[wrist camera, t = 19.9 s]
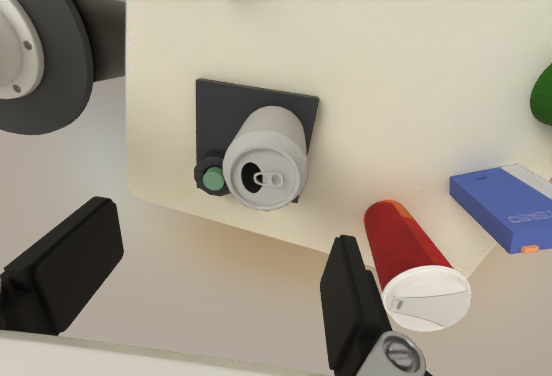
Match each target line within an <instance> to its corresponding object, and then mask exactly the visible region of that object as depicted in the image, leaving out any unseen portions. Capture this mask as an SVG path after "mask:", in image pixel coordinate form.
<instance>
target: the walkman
mask: <svg viewBox="0 0 552 376" xmlns="http://www.w3.org/2000/svg"><path fill="white" fill-rule="evenodd" d="M450 195H451V196H452V197H453V198H454V199H455V200H456V201H457V202H458V203H459V204H460V205H461V206H462V207H463V208H464V209H465V210H466V211H467V212H468V213H469V214H470V215H471V216H472V217H473V218H474V219H475V220H476V221H477V222H478V223H479V224H480V225H481V226H482V227H483V228H484V229H485V230H486V231H487V232H488V233H489V234H490V235H491V236H492V237H493V238H494V239H495V240H496V241H497V242H498V243H499V244H500V245H501V246H502V247H503V248H504V249H505V250H506V251H507V252H508V253H509V254H514V253H521V252H522V253H524V254H527V253H534V252H538V250H543V249H551V248H552V183H550V182H549V181H547V180H545V179H543V178H541V177H540V176H538V175H536V174H534V173H532V172H531V171H529V170H527V169H525V168H523V167H522V166H520V165H518V164H515V165H509V166H504V167H499V168H494V169H489V170H484V171H478V172H473V173H468V174H463V175H457V176H452V177H450Z"/></svg>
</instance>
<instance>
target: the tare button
mask: <svg viewBox="0 0 552 376" xmlns="http://www.w3.org/2000/svg"><path fill="white" fill-rule="evenodd" d="M203 183H204V185H205V186H206V187H207V188H208V189H210V190H219V189H221V188H222V187H223V185H224V183H225V178H224V175H223V169H221V168H219V167H211V168H209V169H208V170H207V172H206V173H205V175H204V177H203Z"/></svg>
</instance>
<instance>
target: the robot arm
mask: <svg viewBox="0 0 552 376" xmlns="http://www.w3.org/2000/svg"><path fill="white" fill-rule="evenodd" d="M43 72H44V54H43V49H42V44H41V41H40V39H39V36H38V33H37V31H36V29H35V27H34V25H33V23H32V21H31V19H30V18H29V16H28V15H27V13H26V12H25V10H24V9H23V8H22V6H21V5H20V4H19V2H18V1H17V0H0V99H13V98H19V97H22V96H26V95H28V94H30V93H31V92H33V91H34V90H35V89H36V88H37V86H38V85H39V84H40V82H41V79H42V77H43ZM123 253H124V249H123V243H122V237H121V231H120V225H119V219H118V213H117V207H116V204H115V203H113V201H112V200H111V199H109V198H104V197H97V196H95V197H93V198H91V199H90V200H89V201H88V202H86V203H85V204H84V205H83V206H81V207H80V208H79V209H78V210H76V211H75V212H74V213H73V214H71V215H70V216H69V217H67V218H66V219H65V220H64V221H62V222H61V223H60V224H59V225H57V226H56V227H55V228H54V229H52V230H51V231H50V232H49V233H48V234H46V235H45V236H44V237H42V238H41V239H40V240H39V241H37V242H36V243H35V244H33V245H32V246H31V247H30V248H28V249H27V250H26V251H25V252H23V253H22V254H21V255H20V256H18V257H17V258H16V259H15V260H13V261H12V262H11V263H10V264H9V265H7V266H6V267H4V270H5V272H3V273H2V274H1V275H0V376H327V375H323V374H318V373H312V372H306V371H300V370H294V369H288V368H282V367H276V366H269V365H261V364H255V363H247V362H241V361H234V360H227V359H220V358H213V357H206V356H199V355H191V354H185V353H178V352H171V351H164V350H156V349H148V348H142V347H135V346H127V345H120V344H112V343H105V342H98V341H89V340H83V339H74V338H68V337H60V336H58V335H59V333H60V332H64V331H65V330H66V329H67V328H68V327H69V326H70V325H71V323H72V322H73V321H74V319H75V318H76V317H77V316H78V314H79V313H80V312H81V310H82V309H83V308H84V306H85V305H86V304H87V303H88V301H89V300H90V299H91V298H92V296H93V295H94V294H95V292H96V291H97V290H98V288H99V287H100V286H101V285H102V283H103V282H104V281H105V279H106V278H107V277H108V276H109V274H110V273H111V272H112V270H113V269H114V268H115V267H116V265H117V264H118V263H119V261H120V260H121V259H122V257H123ZM320 292H321V301H322V309H323V318H324V327H325V336H326V344H327V353H328V362H329V367H330V370H334V374H335V376H432V375H431V374H430V373H429V372H427V371H426V362H425V358H424V356H423V353H422V351H421V350H420V349H419V347H418V346H417V345H416V344H415V343H414V342H413V341H412V340H411V339H410V338H409V337H407V336H405V335H404V334H401V333H398V332H395V331H392V328H391V325H390V322H389V319H388V316H387V314H386V311H385V308H384V305H383V302H382V299H381V296H380V293H379V291H378V288H377V285H376V282H375V279H374V276H373V274H372V272H371V271H370V270H366V269H365V266H364V263H363V260H362V256H361V253H360V250H359V247H358V244H357V241H356V238H355V237H354V236H347V235H340V237H339V238H338V237H336V238H335V240H334V243H333V246H332V249H331V252H330V255H329V258H328V261H327V264H326V267H325V270H324V273H323V276H322V278H321V282H320Z"/></svg>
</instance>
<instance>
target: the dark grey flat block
mask: <svg viewBox="0 0 552 376" xmlns="http://www.w3.org/2000/svg"><path fill="white" fill-rule="evenodd" d="M318 102H319V98H318V97H316V96H310V95H303V94H297V93H290V92H284V91H278V90H271V89H265V88H258V87H252V86H245V85H239V84H233V83H226V82H220V81H213V80H207V79H197V80H196V155H197V165H196V167H195V168H194V179H195V181H196V182H197V188H200V189H202V190H203V191H205V192H207V193H208V194H210V195H215V196H223V195H226V194H229V193H231V192H230V190H229V187H228V186H227V183H226V181H225V183H224V185H223V187H222V188H221V189H219V190H210V189H208V188H207V187H206V186H205V185H204V183H203V177H204V175H205V173H206V172H207V170H208V169H209V168H211V167H219V168H221V169H223V160H224V157H225V154H226V151H227V149H228V148H229V146H230V144H231V143H232V141H233V140H234V138H235V137H236V135H237V133H238V132H239V130H240V129H241V127H242V126H243V124H244V122H245V121H246V120H247V118H248V117H249V116H250V115H251V113H253V112H255V111H256V110H258V109H259V108H263V107H267V106H278V107H282V108H285V109H287V110H289V111H291V112H292V113H293V114H294V115H295V116H296V117H298V119H299V121H300V122H301V124H302V126H303V129H304V134H305V143H306V154H307V155H308V150H309V145H310V141H311V136H312V131H313V126H314V121H315V117H316V112H317V107H318ZM298 198H299V195H298V196H297V197H296V198H295V199H294V200H292V201H291V202H293V203H298Z"/></svg>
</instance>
